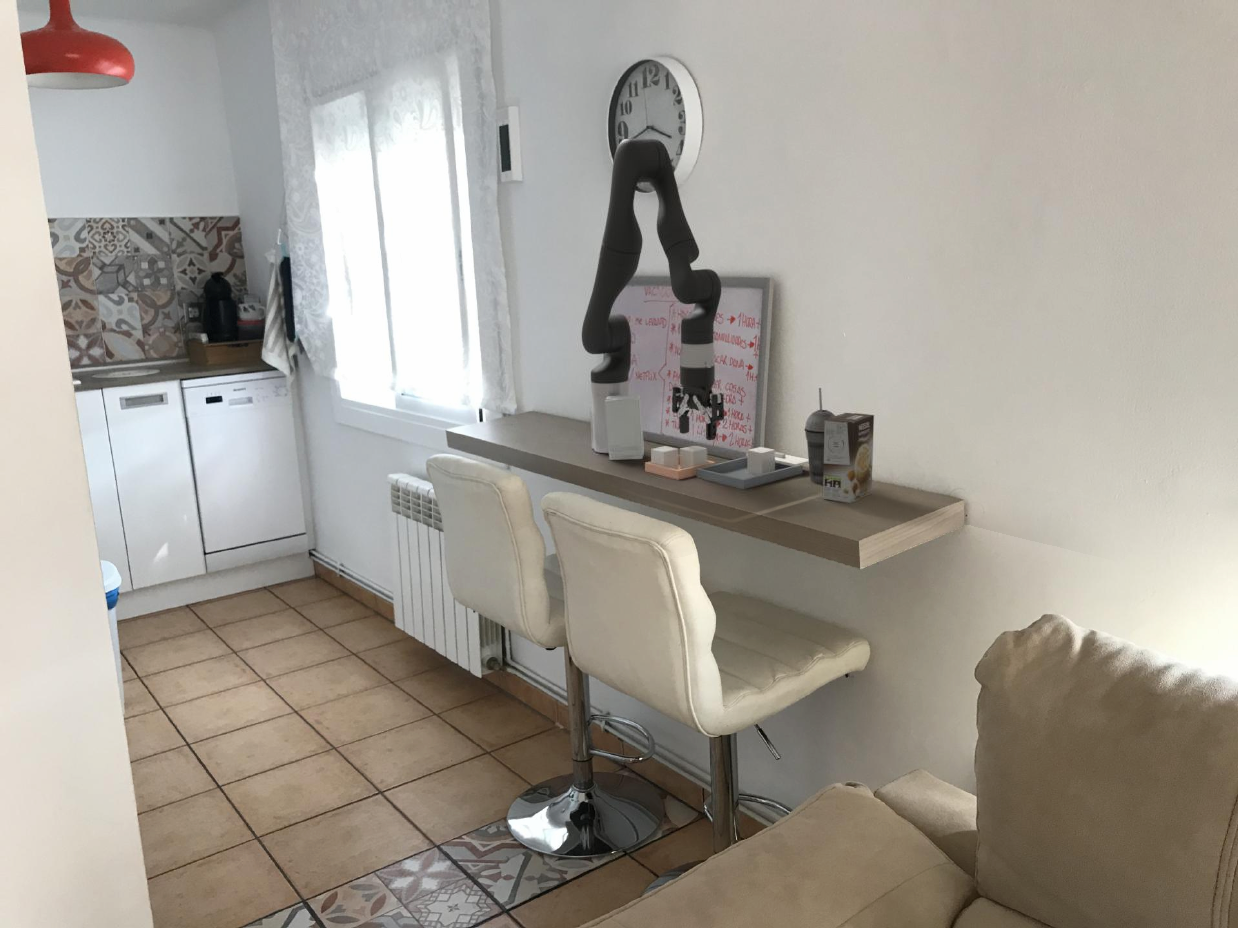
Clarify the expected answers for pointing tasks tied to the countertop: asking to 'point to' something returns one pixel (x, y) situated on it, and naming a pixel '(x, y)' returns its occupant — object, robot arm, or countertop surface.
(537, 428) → the countertop surface
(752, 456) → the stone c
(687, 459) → the white cuboid
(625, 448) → the skincare box
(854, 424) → the coffee box
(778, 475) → the blue-grey shallow rectangular tray
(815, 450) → the beverage cup
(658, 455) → the white block
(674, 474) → the orange square tray
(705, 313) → the robot arm
